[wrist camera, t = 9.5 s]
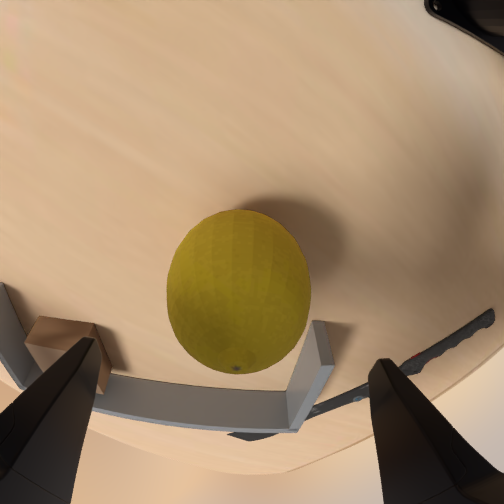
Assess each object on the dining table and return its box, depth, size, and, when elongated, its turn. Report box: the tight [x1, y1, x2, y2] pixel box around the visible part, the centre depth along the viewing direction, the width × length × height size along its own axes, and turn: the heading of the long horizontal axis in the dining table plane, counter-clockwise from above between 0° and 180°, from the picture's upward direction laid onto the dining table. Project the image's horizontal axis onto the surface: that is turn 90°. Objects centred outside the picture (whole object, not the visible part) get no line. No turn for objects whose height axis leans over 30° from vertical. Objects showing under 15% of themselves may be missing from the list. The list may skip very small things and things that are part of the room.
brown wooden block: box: [24, 316, 112, 395], centre depth 20 cm, size 5×5×3 cm
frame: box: [0, 282, 335, 433], centre depth 19 cm, size 24×9×4 cm, turn 83°
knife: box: [227, 309, 495, 441], centre depth 26 cm, size 32×4×1 cm, turn 127°
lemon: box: [167, 209, 311, 374], centre depth 12 cm, size 6×6×8 cm
